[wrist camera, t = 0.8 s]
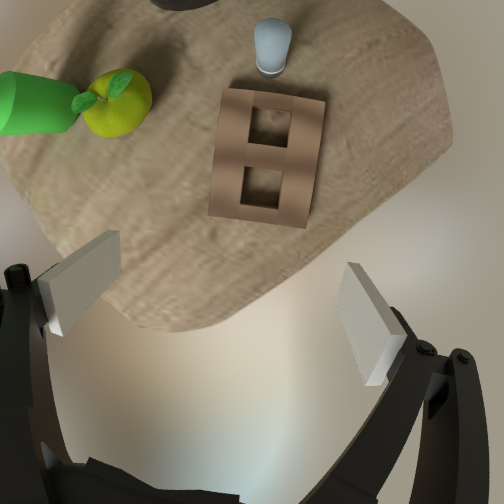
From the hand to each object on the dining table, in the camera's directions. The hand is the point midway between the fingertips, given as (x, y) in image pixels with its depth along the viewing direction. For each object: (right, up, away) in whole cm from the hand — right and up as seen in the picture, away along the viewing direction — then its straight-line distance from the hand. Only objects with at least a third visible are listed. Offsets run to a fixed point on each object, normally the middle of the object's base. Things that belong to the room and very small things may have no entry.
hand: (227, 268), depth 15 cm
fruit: (-16, +22, +19) cm, 33 cm away
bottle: (-30, +25, +18) cm, 43 cm away
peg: (+4, +26, +16) cm, 31 cm away
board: (+3, +14, +21) cm, 25 cm away
